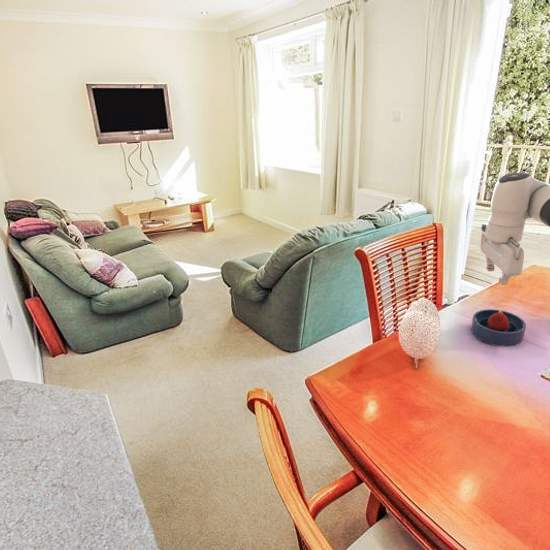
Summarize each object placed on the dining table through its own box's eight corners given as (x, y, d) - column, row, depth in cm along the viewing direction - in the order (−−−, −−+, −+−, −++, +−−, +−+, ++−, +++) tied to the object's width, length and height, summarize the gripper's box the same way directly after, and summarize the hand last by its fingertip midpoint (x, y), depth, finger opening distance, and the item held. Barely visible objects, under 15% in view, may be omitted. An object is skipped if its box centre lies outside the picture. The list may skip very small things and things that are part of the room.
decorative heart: (430, 381, 101) (436, 327, 94) (390, 370, 106) (393, 318, 99) (440, 345, 115) (446, 296, 108) (405, 337, 120) (408, 290, 113)
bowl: (514, 323, 123) (517, 310, 121) (529, 349, 110) (532, 334, 108) (467, 321, 126) (469, 308, 124) (476, 345, 114) (478, 331, 112)
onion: (504, 340, 115) (508, 317, 111) (483, 334, 118) (487, 312, 115) (509, 331, 118) (513, 309, 115) (489, 326, 122) (493, 304, 119)
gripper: (534, 244, 96) (524, 292, 101) (501, 221, 114) (494, 263, 120) (508, 245, 97) (499, 292, 102) (479, 222, 115) (473, 264, 121)
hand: (496, 276), depth 111 cm, fingers open, 8 cm apart
